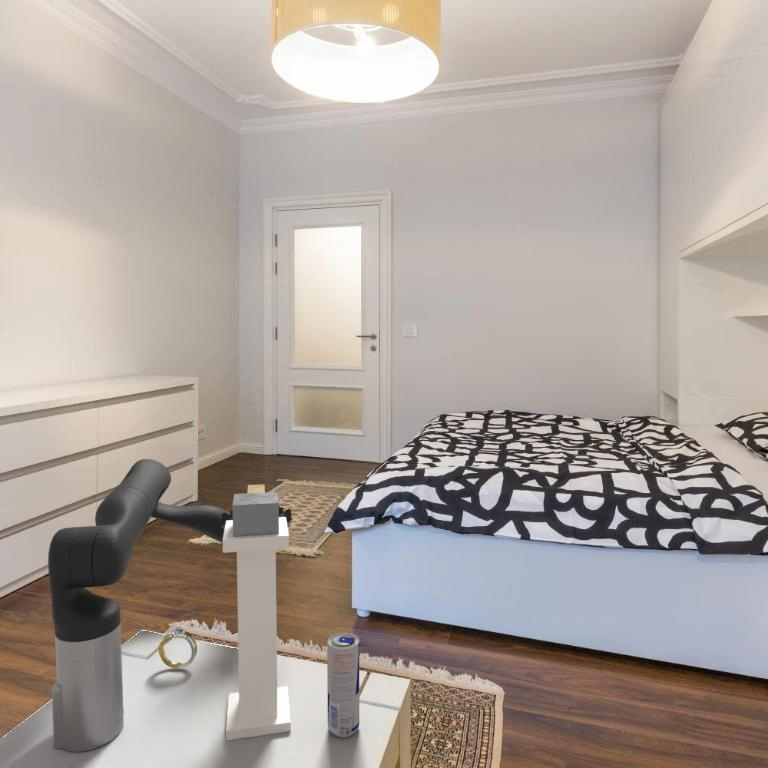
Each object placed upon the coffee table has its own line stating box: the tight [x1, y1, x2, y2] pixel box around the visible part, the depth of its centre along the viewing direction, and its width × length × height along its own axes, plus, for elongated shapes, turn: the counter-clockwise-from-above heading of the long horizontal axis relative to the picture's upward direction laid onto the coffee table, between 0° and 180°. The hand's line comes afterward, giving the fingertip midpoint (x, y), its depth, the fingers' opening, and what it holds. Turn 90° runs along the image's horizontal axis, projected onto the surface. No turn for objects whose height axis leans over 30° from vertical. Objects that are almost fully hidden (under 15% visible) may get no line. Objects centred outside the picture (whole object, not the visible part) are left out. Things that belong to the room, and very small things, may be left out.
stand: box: [222, 517, 292, 741], centre depth 94 cm, size 10×10×32 cm
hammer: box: [232, 484, 280, 537], centre depth 98 cm, size 7×18×5 cm, turn 12°
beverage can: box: [326, 632, 360, 738], centre depth 91 cm, size 5×5×15 cm
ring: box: [158, 626, 198, 670], centre depth 109 cm, size 7×3×8 cm, turn 83°
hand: (256, 511), depth 115 cm, fingers open, 8 cm apart
